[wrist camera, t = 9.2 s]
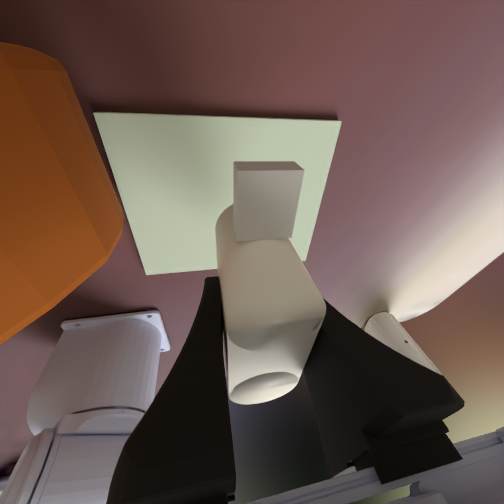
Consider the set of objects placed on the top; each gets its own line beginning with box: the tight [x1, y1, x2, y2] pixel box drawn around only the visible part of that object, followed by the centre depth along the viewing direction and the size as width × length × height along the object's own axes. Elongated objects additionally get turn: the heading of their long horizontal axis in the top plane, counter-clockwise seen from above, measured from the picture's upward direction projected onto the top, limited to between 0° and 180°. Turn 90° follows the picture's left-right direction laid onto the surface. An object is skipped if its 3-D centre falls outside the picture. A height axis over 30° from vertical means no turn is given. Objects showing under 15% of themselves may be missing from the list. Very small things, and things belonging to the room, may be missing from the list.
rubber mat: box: [93, 112, 342, 275], centre depth 19 cm, size 16×13×1 cm
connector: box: [215, 161, 326, 404], centre depth 10 cm, size 3×11×6 cm, turn 177°
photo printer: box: [364, 312, 443, 376], centre depth 33 cm, size 10×4×12 cm, turn 4°
